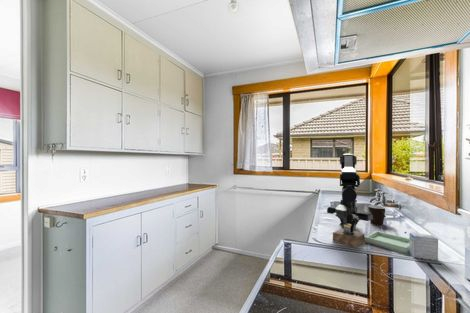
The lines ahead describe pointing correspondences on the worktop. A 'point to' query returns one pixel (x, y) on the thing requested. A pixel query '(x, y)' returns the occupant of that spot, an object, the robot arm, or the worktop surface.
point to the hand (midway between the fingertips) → (348, 231)
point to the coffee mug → (377, 214)
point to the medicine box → (423, 246)
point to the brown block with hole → (348, 238)
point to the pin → (347, 229)
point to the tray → (388, 241)
